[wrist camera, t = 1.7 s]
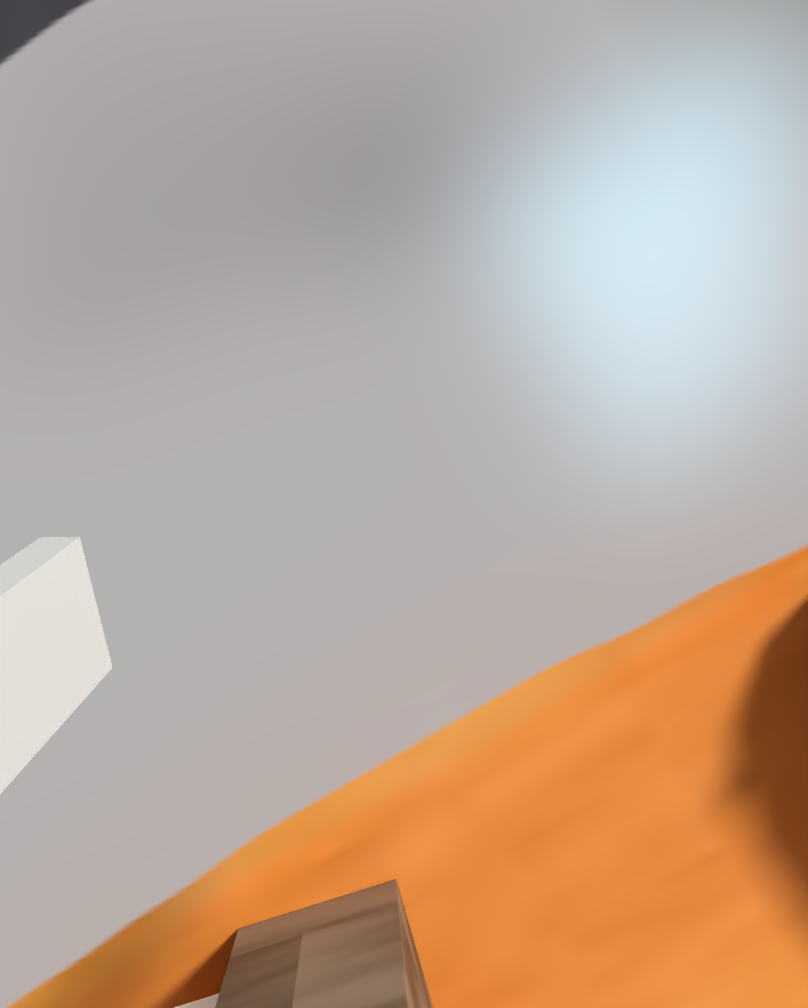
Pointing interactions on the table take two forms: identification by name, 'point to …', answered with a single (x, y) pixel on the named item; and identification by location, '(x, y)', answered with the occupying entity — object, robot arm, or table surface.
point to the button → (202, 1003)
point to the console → (329, 957)
